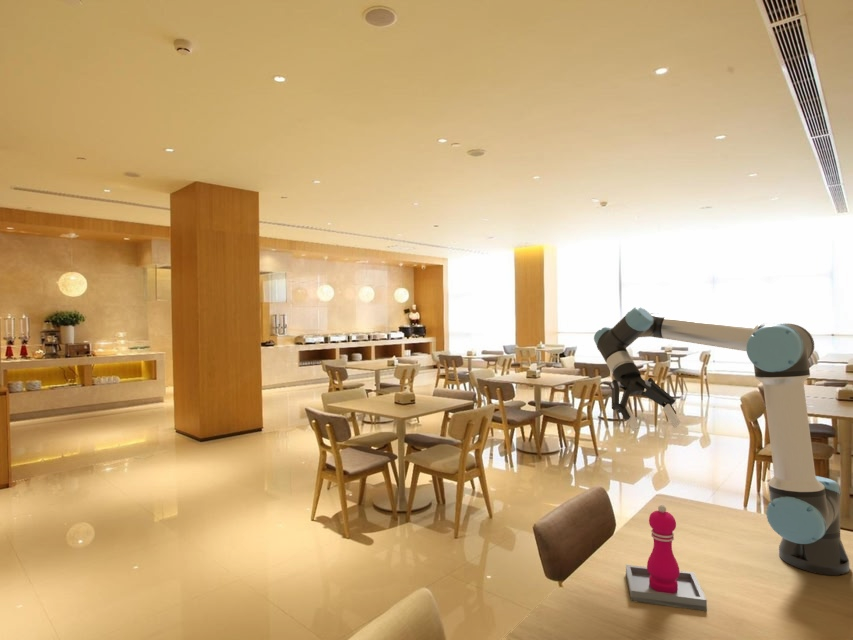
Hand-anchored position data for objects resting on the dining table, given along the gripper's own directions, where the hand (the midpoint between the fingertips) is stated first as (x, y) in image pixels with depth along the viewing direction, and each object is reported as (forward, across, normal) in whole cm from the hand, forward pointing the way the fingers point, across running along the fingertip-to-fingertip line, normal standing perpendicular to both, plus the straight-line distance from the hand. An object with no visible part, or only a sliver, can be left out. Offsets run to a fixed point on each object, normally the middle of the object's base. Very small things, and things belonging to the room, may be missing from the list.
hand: (656, 426), depth 144 cm
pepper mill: (+37, +13, -12) cm, 41 cm away
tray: (+38, +13, -12) cm, 42 cm away
